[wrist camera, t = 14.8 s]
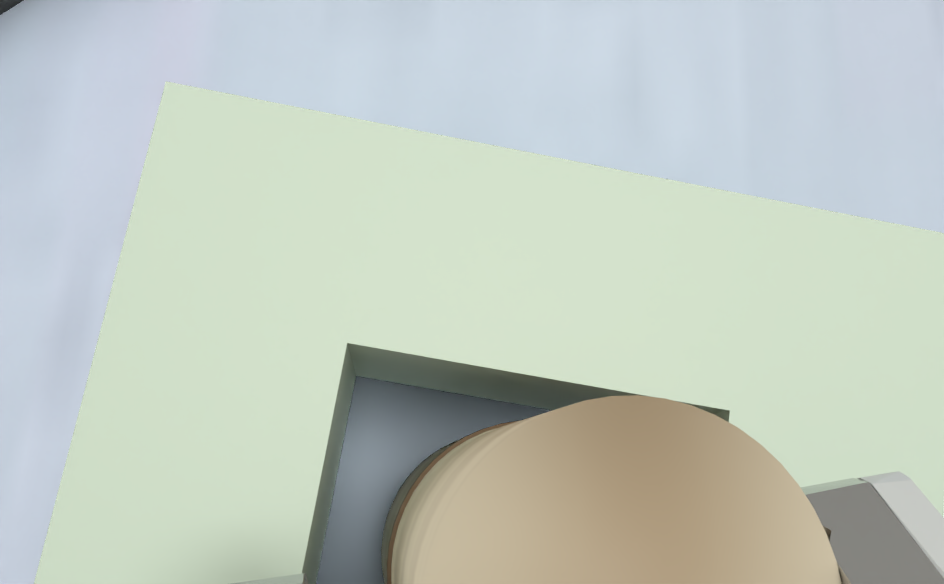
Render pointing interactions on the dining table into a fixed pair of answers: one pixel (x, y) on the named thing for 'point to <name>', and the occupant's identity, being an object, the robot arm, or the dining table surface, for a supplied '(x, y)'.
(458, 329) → the hole block
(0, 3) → the lantern
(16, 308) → the dining table surface
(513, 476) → the peg
